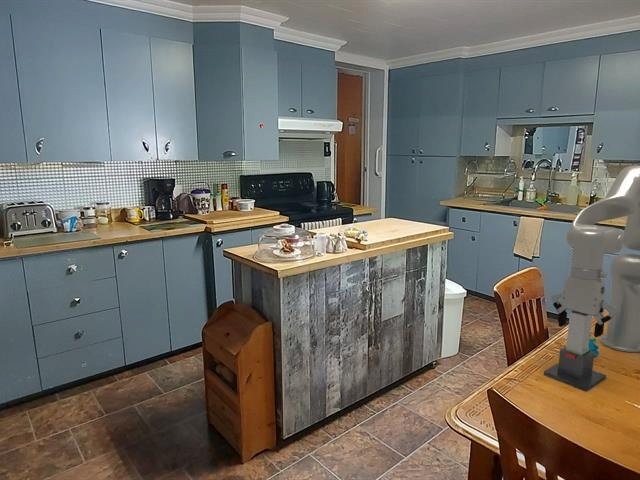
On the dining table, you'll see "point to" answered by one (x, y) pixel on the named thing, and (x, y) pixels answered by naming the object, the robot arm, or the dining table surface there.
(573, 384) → the stand
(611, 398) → the dining table surface
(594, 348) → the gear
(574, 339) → the post
